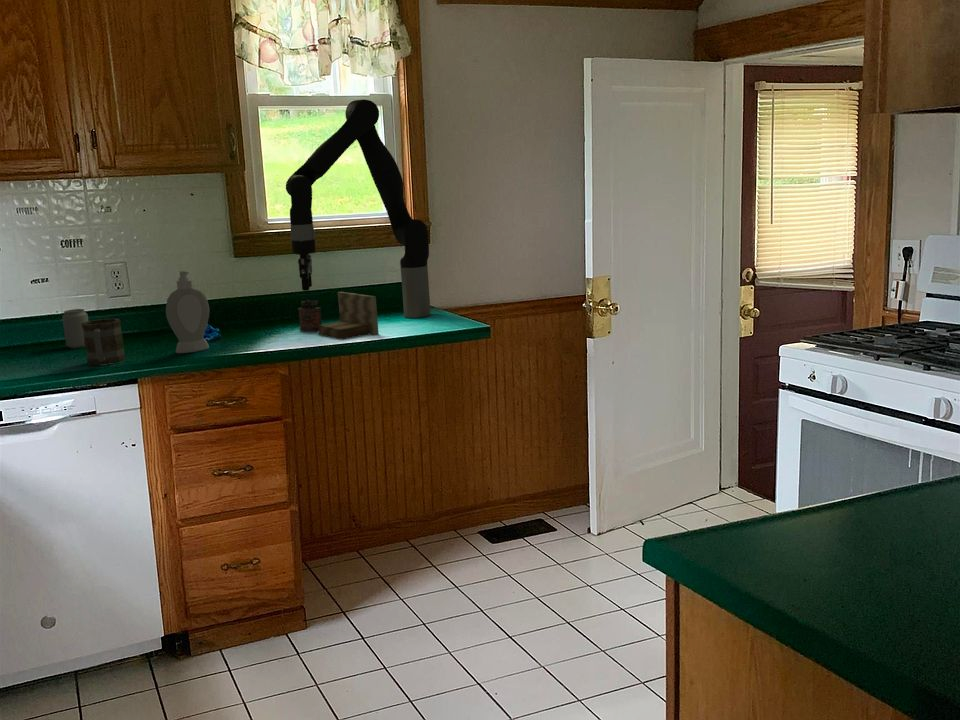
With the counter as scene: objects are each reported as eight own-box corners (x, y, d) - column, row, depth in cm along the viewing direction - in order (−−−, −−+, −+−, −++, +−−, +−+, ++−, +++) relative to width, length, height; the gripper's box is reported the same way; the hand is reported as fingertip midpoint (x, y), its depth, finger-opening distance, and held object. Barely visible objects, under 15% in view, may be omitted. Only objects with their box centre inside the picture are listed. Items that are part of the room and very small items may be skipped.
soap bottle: (175, 356, 274) (165, 274, 269) (168, 352, 281) (158, 272, 276) (219, 349, 281) (209, 269, 276) (211, 346, 288) (201, 267, 282)
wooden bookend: (314, 333, 300) (310, 296, 297) (345, 327, 307) (341, 291, 304) (346, 340, 285) (343, 301, 282) (378, 334, 292) (375, 296, 289)
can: (67, 350, 295) (62, 312, 292) (65, 346, 301) (60, 310, 299) (93, 346, 298) (87, 309, 296) (90, 343, 305) (85, 307, 302)
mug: (90, 360, 276) (84, 320, 274) (128, 356, 278) (123, 317, 276) (80, 371, 261) (74, 329, 258) (121, 367, 263) (115, 325, 261)
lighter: (298, 331, 306) (295, 301, 303) (303, 329, 309) (300, 299, 307) (319, 331, 303) (316, 301, 300) (324, 329, 306) (322, 299, 304)
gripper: (293, 237, 306) (298, 286, 309) (288, 240, 292) (293, 292, 295) (316, 236, 306) (320, 285, 310) (312, 239, 293) (316, 290, 296)
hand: (307, 288), depth 303 cm, fingers open, 8 cm apart
